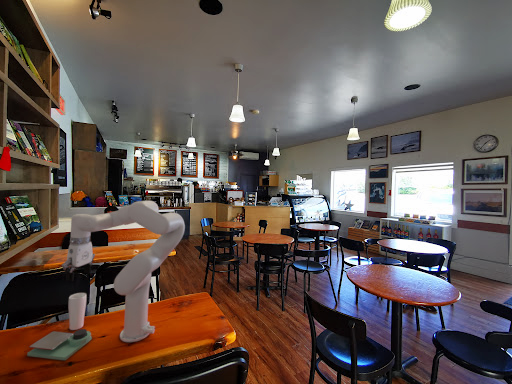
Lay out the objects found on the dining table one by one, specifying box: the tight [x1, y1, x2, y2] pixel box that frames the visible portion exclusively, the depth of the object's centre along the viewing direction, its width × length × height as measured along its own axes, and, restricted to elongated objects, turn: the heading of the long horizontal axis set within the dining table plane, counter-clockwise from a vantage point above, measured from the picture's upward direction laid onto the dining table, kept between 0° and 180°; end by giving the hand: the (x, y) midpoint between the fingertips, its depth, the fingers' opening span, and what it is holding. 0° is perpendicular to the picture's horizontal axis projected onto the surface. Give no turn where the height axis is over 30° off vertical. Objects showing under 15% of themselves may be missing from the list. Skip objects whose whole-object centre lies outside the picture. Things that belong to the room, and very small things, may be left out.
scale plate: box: [28, 330, 74, 350], centre depth 96 cm, size 10×10×1 cm
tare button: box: [73, 328, 88, 340], centre depth 100 cm, size 4×4×2 cm
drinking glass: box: [67, 292, 88, 331], centre depth 110 cm, size 7×7×15 cm
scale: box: [26, 330, 93, 361], centre depth 97 cm, size 17×14×3 cm
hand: (78, 276), depth 110 cm, fingers open, 9 cm apart
